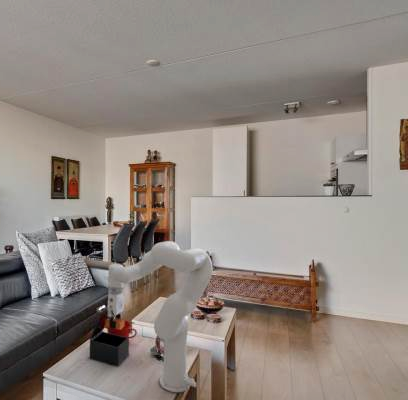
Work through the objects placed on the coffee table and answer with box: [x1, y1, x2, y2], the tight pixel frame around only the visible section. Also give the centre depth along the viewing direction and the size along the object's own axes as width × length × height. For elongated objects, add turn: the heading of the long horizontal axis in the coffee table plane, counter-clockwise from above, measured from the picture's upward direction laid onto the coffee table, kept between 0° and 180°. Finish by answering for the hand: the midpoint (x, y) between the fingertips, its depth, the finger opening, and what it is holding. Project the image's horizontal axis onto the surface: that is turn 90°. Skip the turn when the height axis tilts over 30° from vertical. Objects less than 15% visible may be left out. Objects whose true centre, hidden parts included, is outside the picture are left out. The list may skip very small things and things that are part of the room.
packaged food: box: [149, 345, 164, 359], centre depth 158 cm, size 9×12×5 cm
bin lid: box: [89, 304, 109, 341], centre depth 158 cm, size 16×13×5 cm
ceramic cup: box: [106, 319, 138, 339], centre depth 171 cm, size 13×17×10 cm
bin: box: [89, 331, 130, 368], centre depth 155 cm, size 16×13×9 cm
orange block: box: [105, 318, 125, 330], centre depth 154 cm, size 8×5×4 cm, turn 63°
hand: (115, 325), depth 154 cm, fingers closed on orange block, 5 cm apart
